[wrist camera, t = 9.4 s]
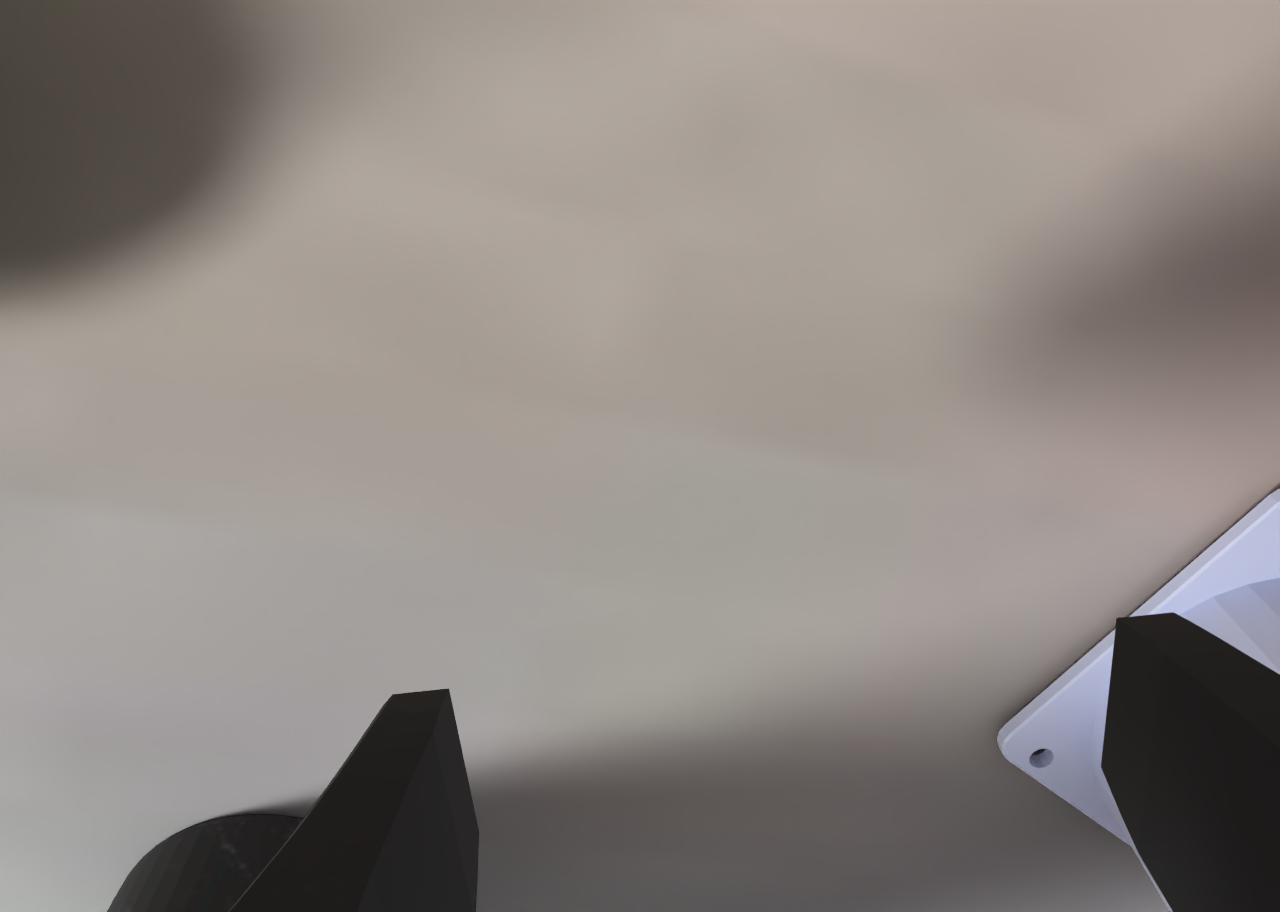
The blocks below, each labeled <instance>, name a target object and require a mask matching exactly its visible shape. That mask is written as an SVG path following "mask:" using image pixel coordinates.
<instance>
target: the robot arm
mask: <svg viewBox="0 0 1280 912" xmlns="http://www.w3.org/2000/svg"><path fill="white" fill-rule="evenodd" d="M997 742H998V746H999V748H1000V750H1001V752H1002V754H1003V756H1004V757H1005V758H1006V759H1007V760H1008V761H1009V762H1011V763H1012V764H1014V765H1015V766H1016V767H1018V768H1019V769H1021V770H1022V771H1024V772H1025V773H1026V774H1028V775H1029V776H1031V777H1032V778H1034V779H1035V780H1037V781H1038V782H1039V783H1041V784H1042V785H1044V786H1045V787H1047V788H1048V789H1049V790H1051V791H1052V792H1054V793H1055V794H1057V795H1058V796H1059V797H1061V798H1062V799H1064V800H1065V801H1067V802H1068V803H1069V804H1071V805H1072V806H1074V807H1075V808H1077V809H1078V810H1079V811H1081V812H1082V813H1084V814H1085V815H1087V816H1088V817H1089V818H1091V819H1092V820H1094V821H1095V822H1097V823H1098V824H1099V825H1101V826H1102V827H1104V828H1105V829H1107V830H1108V831H1110V832H1111V833H1112V834H1114V835H1115V836H1117V837H1118V838H1120V839H1121V840H1122V841H1124V842H1125V843H1127V844H1128V845H1130V846H1131V847H1132V848H1133V850H1134V852H1135V853H1136V855H1137V857H1138V859H1139V860H1140V862H1141V864H1142V865H1143V867H1144V869H1145V871H1146V872H1147V874H1148V876H1149V878H1150V879H1151V881H1152V883H1153V884H1154V886H1155V888H1156V890H1157V891H1158V893H1159V895H1160V896H1161V898H1162V900H1163V902H1164V903H1165V905H1166V907H1167V909H1168V910H1169V912H1280V489H1278V490H1276V491H1274V492H1273V493H1271V494H1270V495H1268V496H1267V497H1266V498H1265V499H1264V500H1263V501H1262V502H1260V503H1259V504H1258V505H1257V506H1256V507H1255V508H1254V509H1252V510H1251V511H1250V512H1249V513H1248V514H1247V515H1245V516H1244V517H1243V518H1242V519H1241V520H1240V521H1239V522H1237V523H1236V524H1235V525H1234V526H1233V527H1232V528H1230V529H1229V530H1228V531H1227V532H1226V533H1225V534H1224V535H1222V536H1221V537H1220V538H1219V539H1218V540H1217V541H1216V542H1214V543H1213V544H1212V545H1211V546H1210V547H1209V548H1207V549H1206V550H1205V551H1204V552H1203V553H1202V554H1201V555H1199V556H1198V557H1197V558H1196V559H1195V560H1194V561H1193V562H1191V563H1190V564H1189V565H1188V566H1187V567H1186V568H1184V569H1183V570H1182V571H1181V572H1180V573H1179V574H1178V575H1176V576H1175V577H1174V578H1173V579H1172V580H1171V581H1170V582H1168V583H1167V584H1166V585H1165V586H1164V587H1163V588H1161V589H1160V590H1159V591H1158V592H1157V593H1156V594H1155V595H1153V596H1152V597H1151V598H1150V599H1149V600H1148V601H1147V602H1145V603H1144V604H1143V605H1142V606H1141V607H1140V608H1138V609H1137V610H1136V611H1135V612H1134V613H1133V614H1132V615H1130V616H1129V617H1124V618H1117V619H1116V628H1115V629H1114V630H1113V631H1112V632H1111V633H1110V634H1109V635H1107V636H1106V637H1105V638H1104V639H1103V640H1102V641H1100V642H1099V643H1098V644H1097V645H1096V646H1095V647H1094V648H1092V649H1091V650H1090V651H1089V652H1088V653H1087V654H1086V655H1084V656H1083V657H1082V658H1081V659H1080V660H1079V661H1077V662H1076V663H1075V664H1074V665H1073V666H1072V667H1071V668H1069V669H1068V670H1067V671H1066V672H1065V673H1064V674H1063V675H1061V676H1060V677H1059V678H1058V679H1057V680H1056V681H1054V682H1053V683H1052V684H1051V685H1050V686H1049V687H1048V688H1046V689H1045V690H1044V691H1043V692H1042V693H1041V694H1040V695H1038V696H1037V697H1036V698H1035V699H1034V700H1033V701H1031V702H1030V703H1029V704H1028V705H1027V706H1026V707H1025V708H1023V709H1022V710H1021V711H1020V712H1019V713H1018V714H1017V715H1015V716H1014V717H1013V718H1012V719H1011V720H1010V721H1008V722H1007V723H1006V724H1005V725H1004V726H1003V727H1002V729H1001V730H1000V731H999V733H998V737H997ZM1045 748H1046V749H1045ZM1038 749H1045V750H1044V752H1042V753H1040V754H1038V755H1033V756H1031V755H1032V753H1033V752H1035V751H1037V750H1038ZM478 844H479V830H478V825H477V821H476V816H475V811H474V806H473V802H472V797H471V792H470V787H469V782H468V778H467V773H466V768H465V763H464V759H463V754H462V749H461V744H460V740H459V735H458V730H457V725H456V721H455V716H454V711H453V706H452V701H451V697H450V692H449V689H441V690H431V691H422V692H412V693H403V694H393V695H392V696H391V697H390V698H389V699H388V701H387V702H386V703H385V704H384V705H383V707H382V708H381V710H380V711H379V713H378V714H377V716H376V717H375V718H374V720H373V721H372V723H371V724H370V726H369V727H368V729H367V730H366V732H365V733H364V735H363V736H362V738H361V739H360V741H359V742H358V744H357V745H356V746H355V748H354V749H353V751H352V752H351V754H350V755H349V757H348V758H347V759H346V761H345V762H344V764H343V765H342V767H341V768H340V769H339V771H338V772H337V774H336V775H335V777H334V778H333V779H332V781H331V782H330V784H329V785H328V786H327V788H326V789H325V790H324V792H323V793H322V794H321V796H320V797H319V798H318V800H317V801H316V803H315V804H314V805H313V807H312V808H311V809H310V811H309V812H308V813H307V815H306V816H305V817H304V819H303V820H302V821H301V823H300V824H299V825H298V827H297V828H296V829H295V831H294V832H293V833H292V835H291V836H290V837H289V839H288V840H287V841H286V842H285V844H284V845H283V846H282V848H281V849H280V850H279V851H278V852H277V854H276V855H275V856H274V857H273V858H272V860H271V861H270V862H269V863H268V865H267V866H266V867H265V868H264V869H263V871H262V872H261V873H260V874H259V875H258V877H257V878H256V879H255V880H254V881H253V883H252V884H251V885H250V886H249V887H248V889H247V890H246V891H245V892H244V894H243V895H242V896H241V897H240V898H239V900H238V901H237V902H236V903H235V904H234V905H233V907H232V908H231V909H230V910H229V911H228V912H476V895H477V873H478Z"/></svg>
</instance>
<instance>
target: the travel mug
mask: <svg viewBox="0 0 1280 912" xmlns="http://www.w3.org/2000/svg"><path fill="white" fill-rule="evenodd" d="M302 820H303V819H299V818H293V817H285V816H274V815H245V816H235V817H226V818H222V819H217V820H212V821H208V822H204V823H201V824H198V825H195V826H192V827H189V828H187V829H185V830H183V831H181V832H179V833H176V834H174V835H172V836H170V837H169V838H167V839H166V840H164V841H163V842H161V843H160V844H158V845H156V846H155V847H154V848H153V849H152V850H151V851H150V852H148V853H147V854H146V855H145V856H144V857H143V858H142V859H141V860H140V861H139V862H138V863H137V865H136V866H135V867H134V868H133V869H132V871H131V872H130V873H129V875H128V876H127V878H126V880H125V881H124V883H123V885H122V886H121V888H120V890H119V891H118V893H117V895H116V897H115V898H114V900H113V902H112V904H111V906H110V907H109V909H108V911H107V912H228V911H229V910H230V909H231V908H232V907H233V905H234V904H235V903H236V902H237V901H238V900H239V898H240V897H241V896H242V895H243V894H244V892H245V891H246V890H247V889H248V887H249V886H250V885H251V884H252V883H253V881H254V880H255V879H256V878H257V877H258V875H259V874H260V873H261V872H262V871H263V869H264V868H265V867H266V866H267V865H268V863H269V862H270V861H271V860H272V858H273V857H274V856H275V855H276V854H277V852H278V851H279V850H280V849H281V848H282V846H283V845H284V844H285V842H286V841H287V840H288V839H289V837H290V836H291V835H292V833H293V832H294V831H295V829H296V828H297V827H298V825H299V824H300V823H301V821H302Z"/></svg>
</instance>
